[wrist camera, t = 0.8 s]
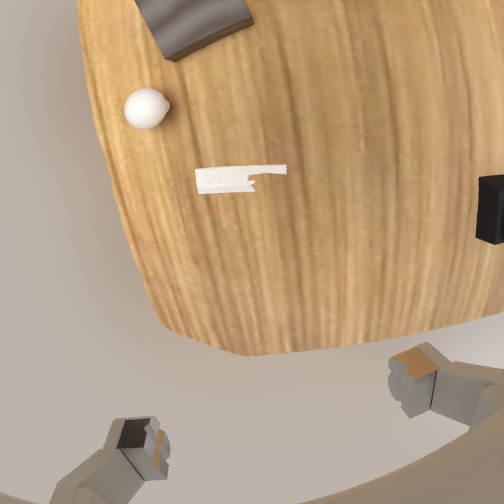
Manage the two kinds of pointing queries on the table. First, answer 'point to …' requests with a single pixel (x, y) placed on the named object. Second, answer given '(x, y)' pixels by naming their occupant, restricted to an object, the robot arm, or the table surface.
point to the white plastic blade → (232, 177)
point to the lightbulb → (146, 108)
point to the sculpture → (491, 209)
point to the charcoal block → (192, 23)
